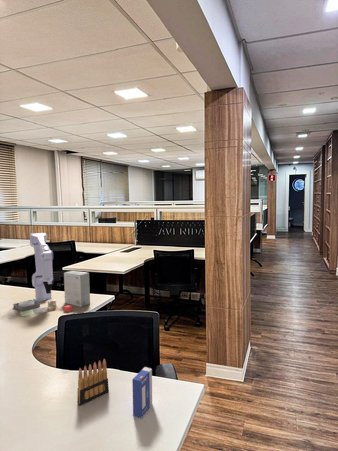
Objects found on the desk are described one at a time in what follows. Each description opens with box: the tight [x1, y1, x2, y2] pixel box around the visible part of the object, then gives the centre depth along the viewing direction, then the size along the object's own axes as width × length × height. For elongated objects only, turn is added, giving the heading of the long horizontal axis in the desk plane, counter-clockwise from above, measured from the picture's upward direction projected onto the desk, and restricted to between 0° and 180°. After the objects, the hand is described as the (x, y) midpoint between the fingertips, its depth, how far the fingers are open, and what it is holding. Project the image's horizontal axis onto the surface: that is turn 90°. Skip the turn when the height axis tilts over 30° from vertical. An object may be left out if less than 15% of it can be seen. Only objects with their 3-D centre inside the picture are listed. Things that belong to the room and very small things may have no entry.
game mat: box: [19, 304, 60, 317], centre depth 192 cm, size 21×9×1 cm, turn 120°
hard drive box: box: [63, 270, 91, 308], centre depth 204 cm, size 16×8×20 cm, turn 58°
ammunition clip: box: [76, 358, 110, 407], centre depth 107 cm, size 11×2×12 cm, turn 132°
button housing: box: [12, 299, 41, 312], centre depth 198 cm, size 11×11×2 cm
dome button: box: [17, 299, 35, 307], centre depth 198 cm, size 9×9×2 cm
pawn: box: [47, 298, 57, 310], centre depth 195 cm, size 4×4×5 cm
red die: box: [63, 304, 73, 313], centre depth 190 cm, size 3×3×3 cm
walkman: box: [131, 366, 153, 419], centre depth 100 cm, size 8×3×12 cm, turn 155°
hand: (48, 293), depth 195 cm, fingers closed
